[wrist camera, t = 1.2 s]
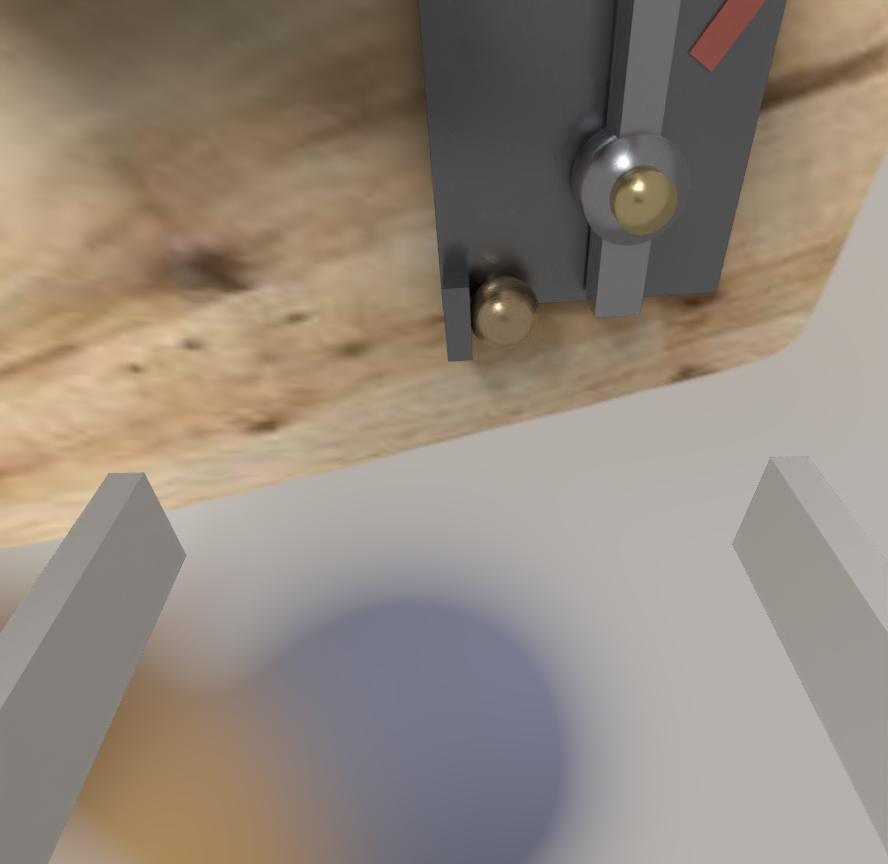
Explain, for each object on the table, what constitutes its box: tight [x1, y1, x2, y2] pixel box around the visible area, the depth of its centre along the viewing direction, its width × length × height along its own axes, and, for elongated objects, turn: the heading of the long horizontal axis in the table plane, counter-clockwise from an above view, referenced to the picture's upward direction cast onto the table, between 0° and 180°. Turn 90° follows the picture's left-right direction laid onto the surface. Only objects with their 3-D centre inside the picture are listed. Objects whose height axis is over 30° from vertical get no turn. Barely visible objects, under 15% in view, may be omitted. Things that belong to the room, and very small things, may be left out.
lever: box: [572, 0, 691, 318], centre depth 20 cm, size 25×5×13 cm, turn 4°
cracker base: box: [418, 0, 786, 361], centre depth 26 cm, size 23×17×7 cm
